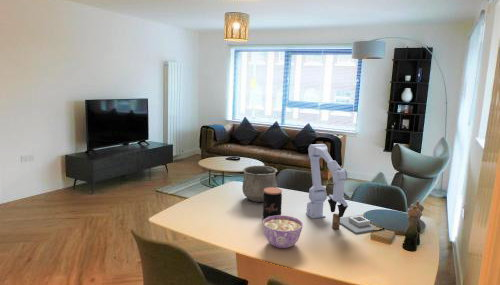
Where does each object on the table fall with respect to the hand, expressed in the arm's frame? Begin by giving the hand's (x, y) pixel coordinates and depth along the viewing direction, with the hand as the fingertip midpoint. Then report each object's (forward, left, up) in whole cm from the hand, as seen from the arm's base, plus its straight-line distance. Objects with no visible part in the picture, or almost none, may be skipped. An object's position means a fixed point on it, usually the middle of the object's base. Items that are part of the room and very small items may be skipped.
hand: (336, 214), depth 202 cm
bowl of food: (-38, -8, -9) cm, 40 cm away
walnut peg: (0, 0, -8) cm, 8 cm away
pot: (-23, +56, -9) cm, 61 cm away
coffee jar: (-29, +23, -9) cm, 38 cm away
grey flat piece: (+16, 0, -8) cm, 18 cm away
